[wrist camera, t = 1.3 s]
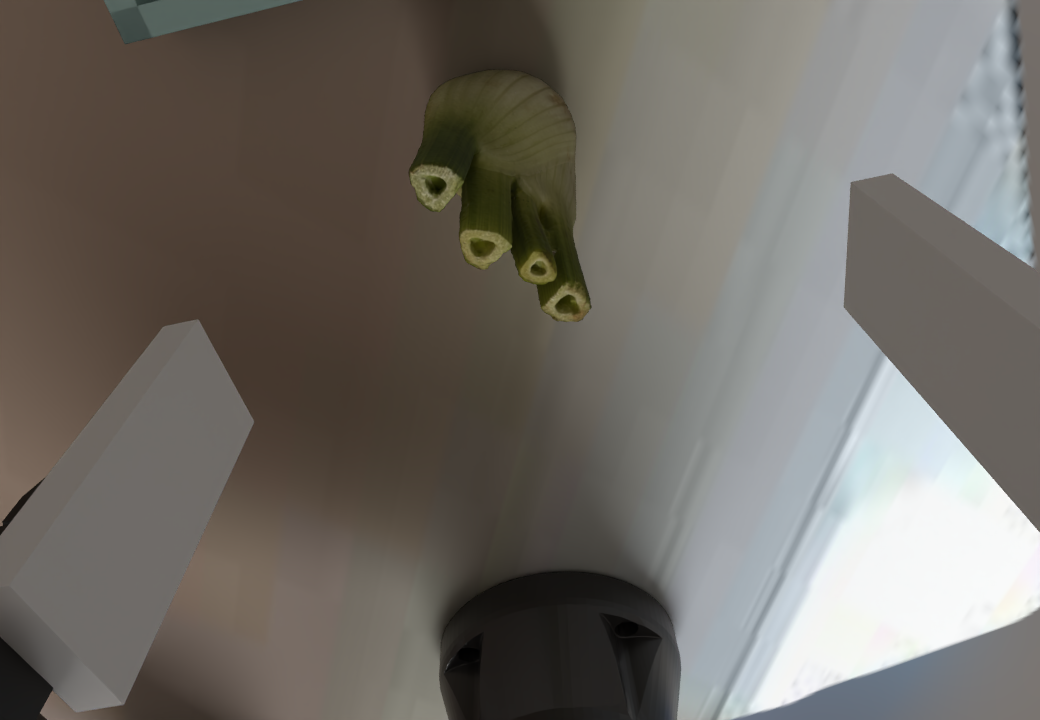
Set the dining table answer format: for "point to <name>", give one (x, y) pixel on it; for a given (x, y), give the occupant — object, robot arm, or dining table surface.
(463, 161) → the fennel bulb
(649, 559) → the dining table surface
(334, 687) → the dining table surface
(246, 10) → the tray
